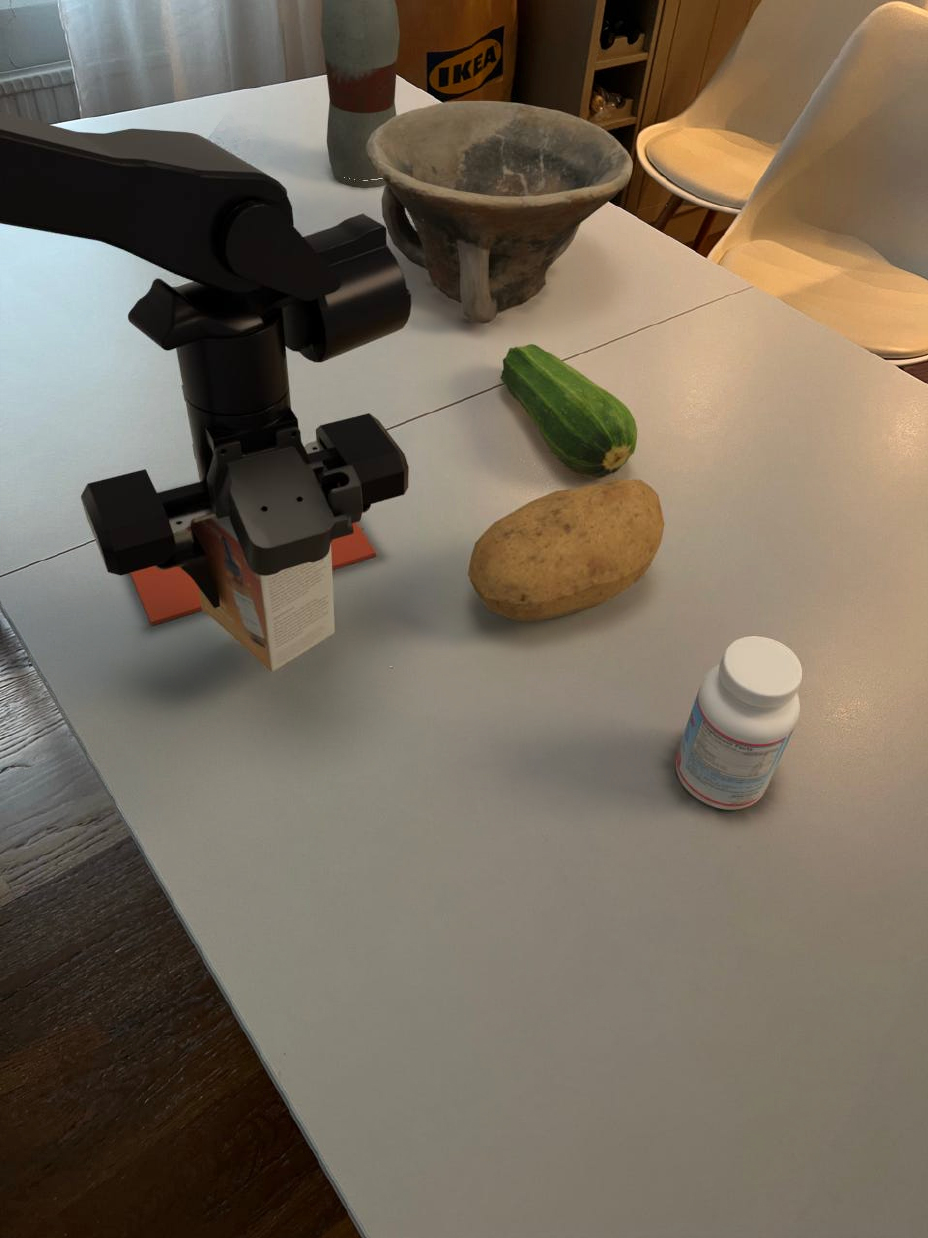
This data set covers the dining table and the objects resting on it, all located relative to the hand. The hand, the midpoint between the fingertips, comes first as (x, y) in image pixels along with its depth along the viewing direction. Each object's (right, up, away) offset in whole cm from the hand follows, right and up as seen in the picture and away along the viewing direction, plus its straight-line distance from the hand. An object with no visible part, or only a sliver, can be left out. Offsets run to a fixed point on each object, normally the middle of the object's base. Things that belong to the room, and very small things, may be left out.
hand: (263, 588), depth 66 cm
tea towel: (-5, +5, +14) cm, 16 cm away
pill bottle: (+30, -13, 0) cm, 33 cm away
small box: (0, -2, +3) cm, 4 cm away
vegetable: (+22, +15, +26) cm, 38 cm away
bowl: (+16, +36, +45) cm, 60 cm away
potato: (+21, 0, +11) cm, 24 cm away
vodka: (0, +55, +63) cm, 84 cm away
